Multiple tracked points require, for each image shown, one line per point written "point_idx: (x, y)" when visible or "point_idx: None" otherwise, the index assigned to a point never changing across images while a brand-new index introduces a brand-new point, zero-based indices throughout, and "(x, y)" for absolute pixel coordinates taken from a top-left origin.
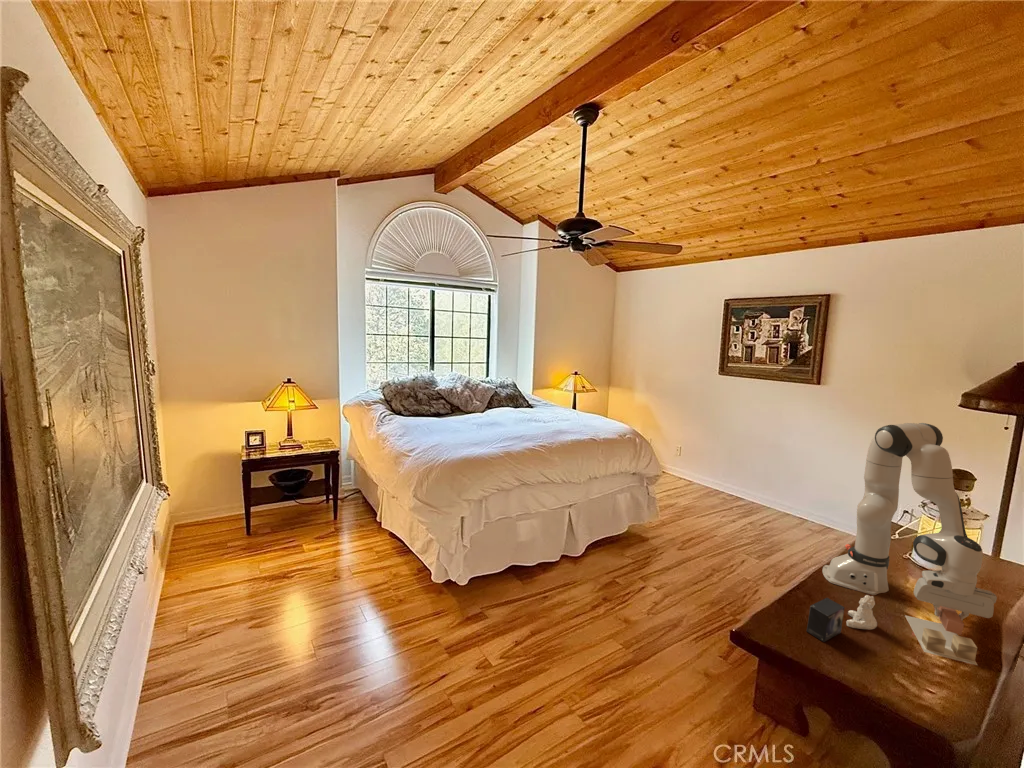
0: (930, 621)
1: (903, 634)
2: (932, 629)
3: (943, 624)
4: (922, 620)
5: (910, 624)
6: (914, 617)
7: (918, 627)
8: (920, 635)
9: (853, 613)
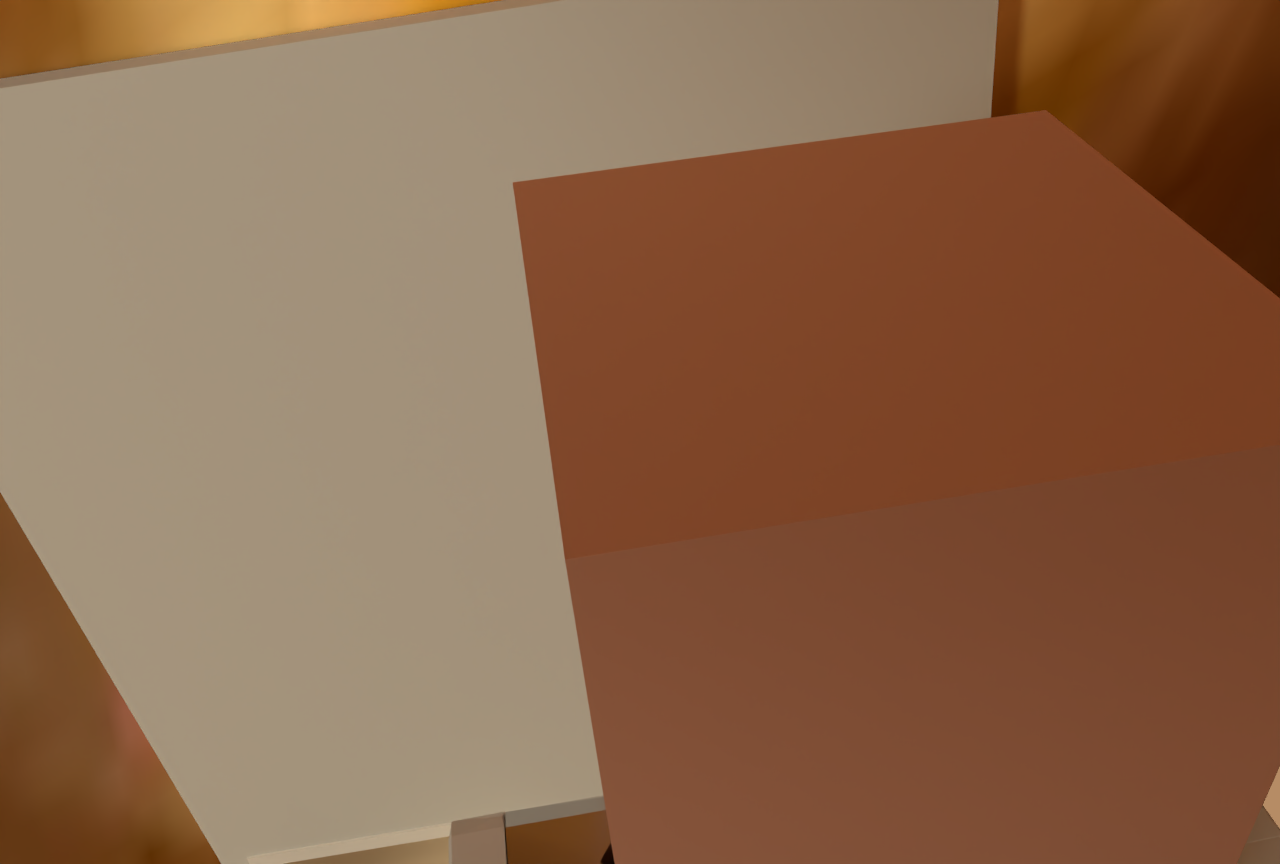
0: (465, 44)
1: (5, 819)
2: (478, 424)
3: None
4: (263, 121)
5: (33, 500)
6: (49, 81)
7: (201, 522)
8: (258, 750)
9: None
